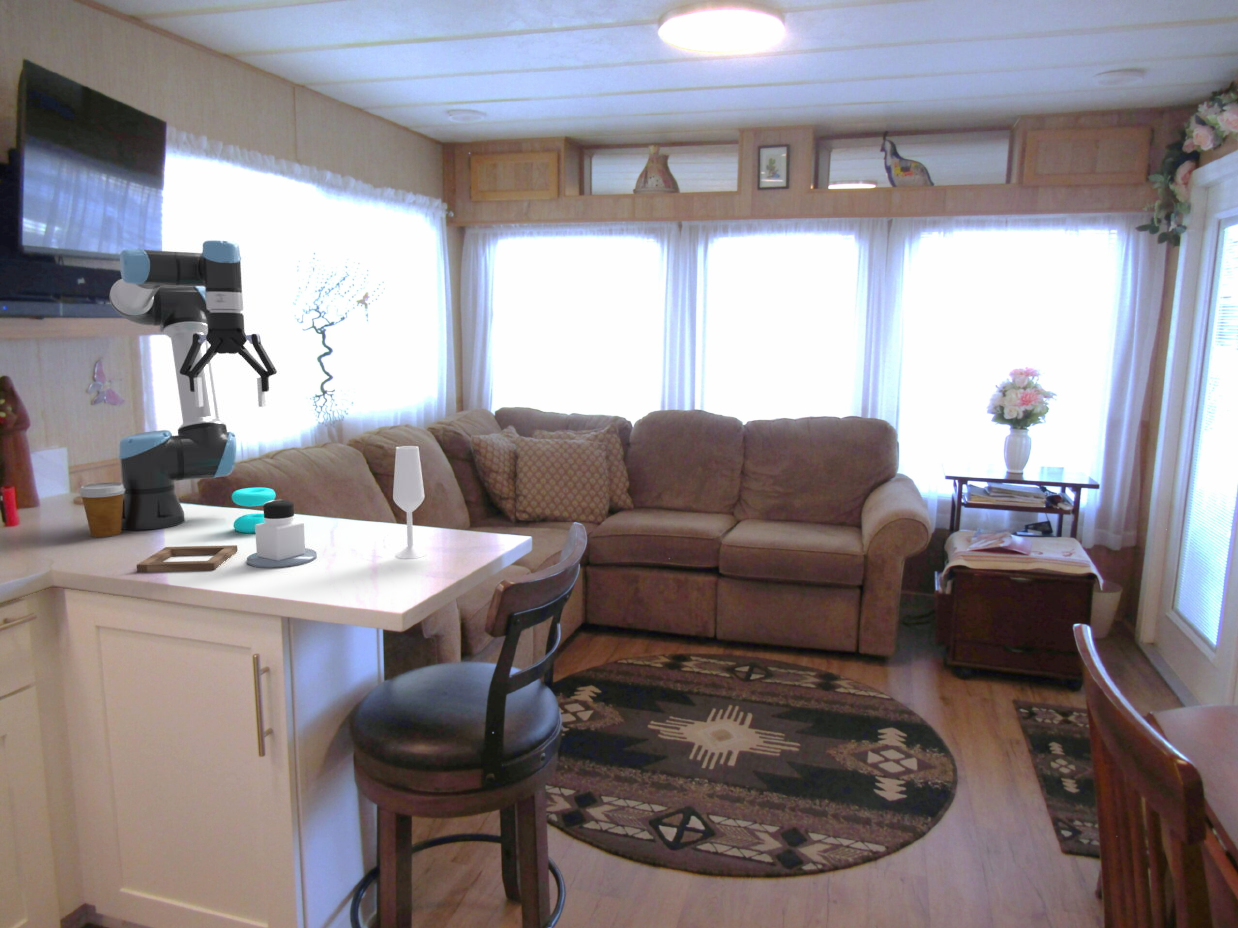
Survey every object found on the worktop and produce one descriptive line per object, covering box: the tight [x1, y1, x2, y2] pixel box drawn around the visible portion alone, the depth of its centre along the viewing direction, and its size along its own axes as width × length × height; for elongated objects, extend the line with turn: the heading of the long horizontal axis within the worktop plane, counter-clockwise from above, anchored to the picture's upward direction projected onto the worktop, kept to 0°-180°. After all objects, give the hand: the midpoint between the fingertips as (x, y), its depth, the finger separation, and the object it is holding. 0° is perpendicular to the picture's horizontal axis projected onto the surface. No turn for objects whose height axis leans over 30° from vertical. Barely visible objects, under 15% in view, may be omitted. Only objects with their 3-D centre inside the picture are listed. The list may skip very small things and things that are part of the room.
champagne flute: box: [392, 445, 427, 560], centre depth 185 cm, size 7×7×24 cm
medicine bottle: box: [254, 499, 306, 561], centre depth 181 cm, size 7×7×12 cm
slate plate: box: [246, 547, 318, 568], centre depth 182 cm, size 14×14×1 cm
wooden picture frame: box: [135, 544, 238, 573], centre depth 180 cm, size 15×15×2 cm
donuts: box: [231, 487, 277, 534], centre depth 209 cm, size 10×10×10 cm
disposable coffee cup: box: [78, 481, 125, 538], centre depth 203 cm, size 10×10×12 cm
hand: (230, 406), depth 192 cm, fingers open, 13 cm apart
